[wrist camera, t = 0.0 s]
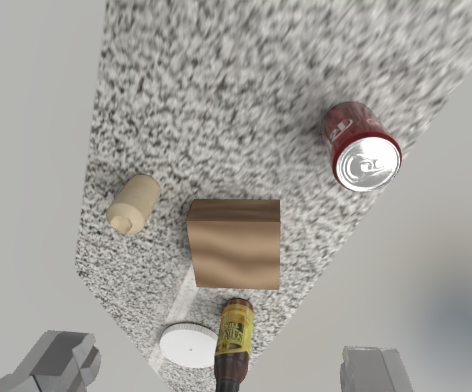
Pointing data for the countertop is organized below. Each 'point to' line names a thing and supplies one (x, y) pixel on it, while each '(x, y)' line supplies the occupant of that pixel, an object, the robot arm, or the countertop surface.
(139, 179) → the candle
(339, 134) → the soda can
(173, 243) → the countertop surface
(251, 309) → the sauce bottle
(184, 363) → the plastic lid
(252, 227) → the walnut stand
